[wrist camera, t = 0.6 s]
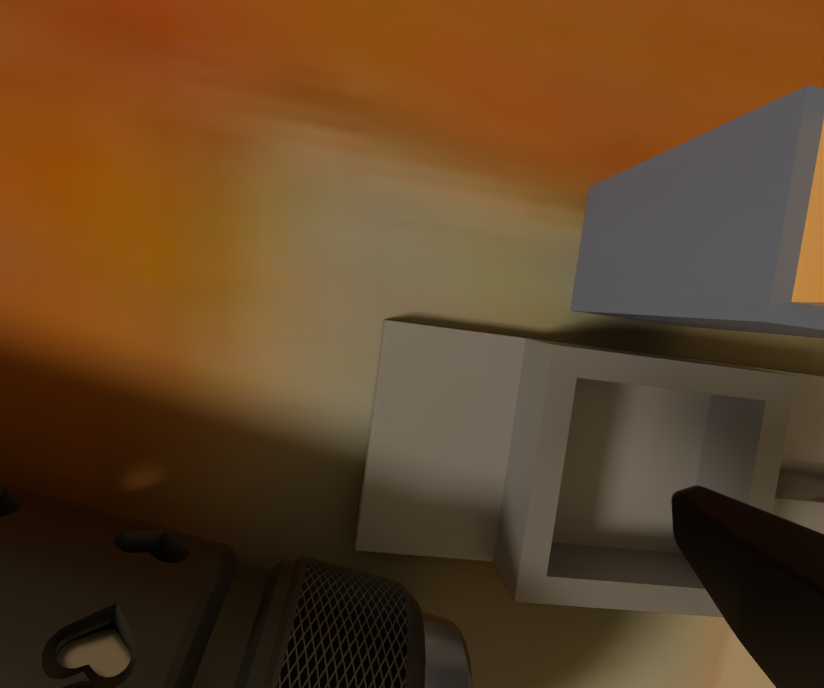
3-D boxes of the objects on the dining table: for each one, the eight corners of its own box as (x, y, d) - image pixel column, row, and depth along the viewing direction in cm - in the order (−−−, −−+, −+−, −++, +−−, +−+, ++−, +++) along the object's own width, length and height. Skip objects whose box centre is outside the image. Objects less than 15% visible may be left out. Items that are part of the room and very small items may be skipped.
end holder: (808, 577, 25) (894, 629, 21) (355, 539, 23) (356, 590, 19) (845, 378, 25) (940, 394, 21) (384, 319, 22) (390, 323, 18)
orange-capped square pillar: (684, 326, 24) (1083, 360, 11) (570, 310, 23) (846, 326, 10) (704, 206, 23) (1140, 92, 10) (589, 187, 23) (899, 42, 10)
